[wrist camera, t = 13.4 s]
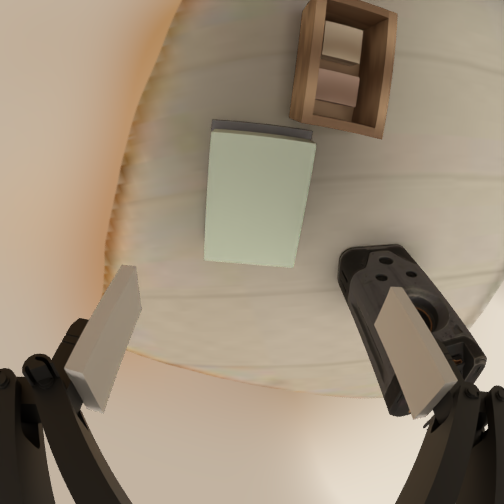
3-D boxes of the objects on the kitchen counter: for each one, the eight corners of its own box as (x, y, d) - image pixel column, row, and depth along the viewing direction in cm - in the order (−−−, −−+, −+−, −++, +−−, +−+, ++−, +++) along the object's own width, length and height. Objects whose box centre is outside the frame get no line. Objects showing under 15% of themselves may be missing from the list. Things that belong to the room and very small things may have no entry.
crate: (302, 11, 21) (317, -11, 15) (367, 27, 22) (397, 13, 16) (288, 117, 27) (301, 122, 21) (354, 129, 27) (381, 139, 21)
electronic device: (406, 242, 34) (494, 355, 17) (398, 280, 37) (467, 395, 20) (339, 247, 34) (407, 384, 17) (335, 287, 37) (385, 422, 20)
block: (216, 127, 27) (211, 131, 23) (306, 137, 28) (316, 144, 24) (208, 239, 33) (203, 260, 29) (287, 246, 34) (293, 267, 30)
